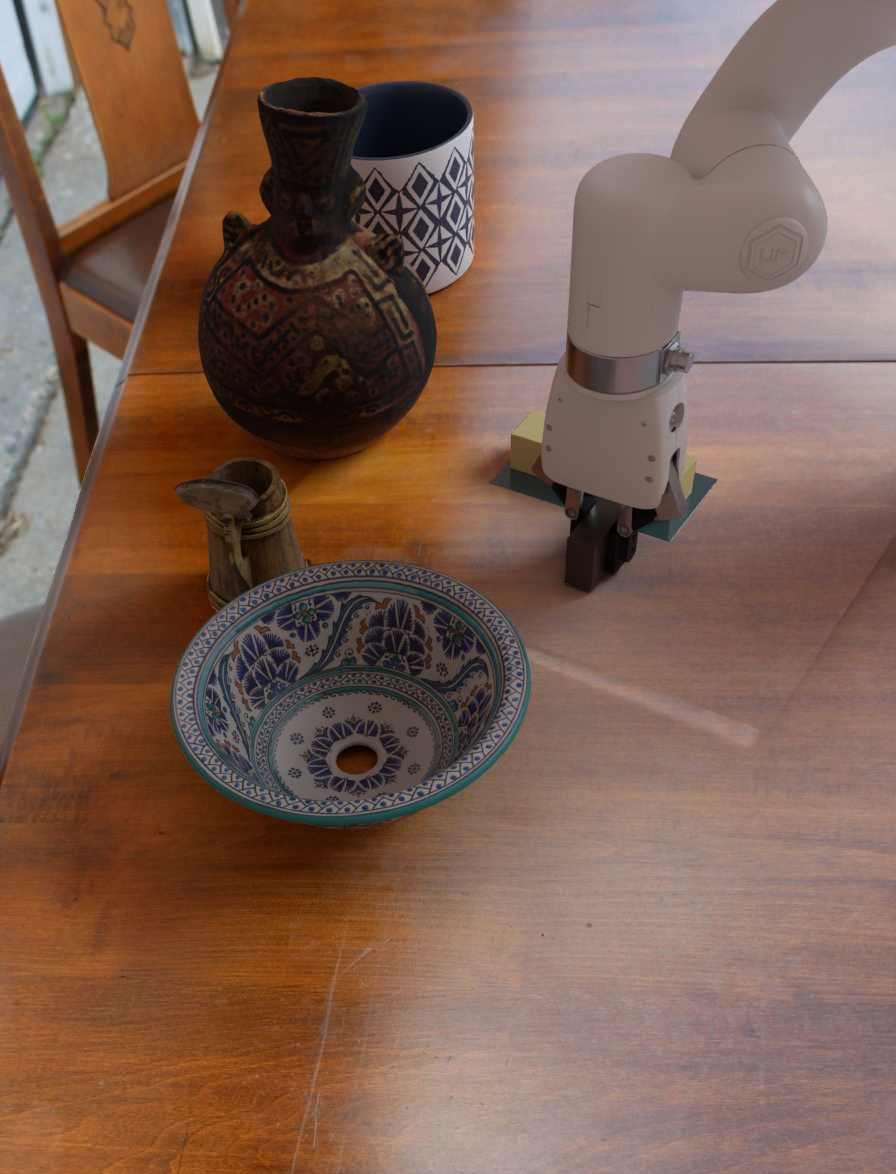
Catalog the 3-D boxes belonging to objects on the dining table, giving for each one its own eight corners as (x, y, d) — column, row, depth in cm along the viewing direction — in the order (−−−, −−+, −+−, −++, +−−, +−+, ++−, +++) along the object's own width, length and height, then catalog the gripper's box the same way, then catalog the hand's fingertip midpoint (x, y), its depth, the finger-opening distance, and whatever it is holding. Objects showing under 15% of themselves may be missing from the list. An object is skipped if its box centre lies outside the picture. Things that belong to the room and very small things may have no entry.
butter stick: (509, 468, 116) (510, 433, 113) (532, 442, 118) (533, 408, 115) (603, 497, 112) (605, 463, 110) (625, 471, 114) (628, 436, 111)
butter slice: (642, 511, 111) (646, 476, 108) (664, 484, 113) (668, 448, 110) (670, 520, 110) (675, 484, 107) (691, 492, 112) (697, 457, 109)
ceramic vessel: (188, 483, 122) (115, 144, 98) (251, 372, 131) (198, 37, 107) (409, 509, 116) (390, 156, 92) (459, 391, 125) (453, 41, 101)
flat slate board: (489, 492, 116) (489, 482, 115) (540, 435, 120) (540, 425, 119) (669, 551, 109) (670, 541, 108) (716, 488, 113) (718, 479, 112)
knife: (590, 592, 106) (594, 548, 102) (563, 583, 107) (566, 538, 103) (691, 464, 113) (698, 418, 110) (665, 456, 114) (671, 411, 111)
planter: (386, 323, 133) (377, 177, 122) (293, 265, 141) (276, 124, 130) (506, 259, 137) (508, 113, 126) (409, 207, 146) (403, 65, 134)
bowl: (189, 674, 107) (166, 583, 100) (498, 633, 106) (499, 537, 98) (197, 927, 92) (171, 843, 85) (556, 882, 91) (562, 792, 84)
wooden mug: (185, 663, 108) (138, 479, 93) (221, 553, 116) (183, 366, 101) (292, 669, 106) (261, 482, 92) (321, 556, 114) (297, 367, 99)
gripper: (752, 351, 91) (714, 561, 106) (544, 298, 98) (536, 502, 113) (703, 410, 88) (672, 618, 103) (492, 351, 95) (491, 554, 110)
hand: (601, 556), depth 108 cm, fingers closed on knife, 2 cm apart
